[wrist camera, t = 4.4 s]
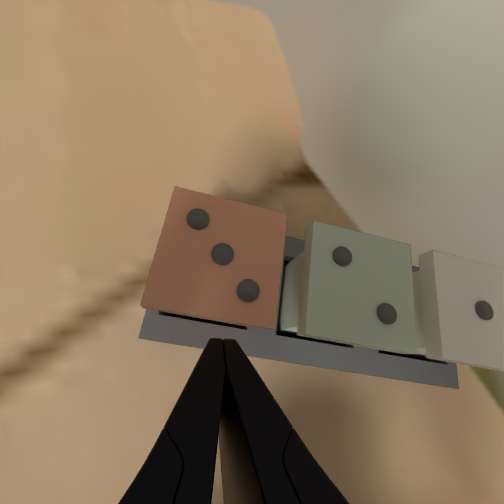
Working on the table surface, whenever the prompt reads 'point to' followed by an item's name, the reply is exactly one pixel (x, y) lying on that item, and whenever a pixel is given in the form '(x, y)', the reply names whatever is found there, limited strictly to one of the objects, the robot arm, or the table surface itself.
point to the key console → (300, 344)
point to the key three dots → (218, 261)
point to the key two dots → (350, 290)
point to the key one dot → (459, 310)
